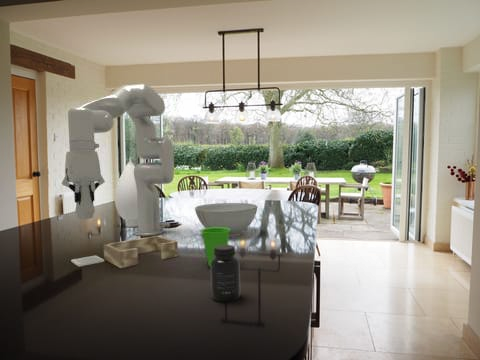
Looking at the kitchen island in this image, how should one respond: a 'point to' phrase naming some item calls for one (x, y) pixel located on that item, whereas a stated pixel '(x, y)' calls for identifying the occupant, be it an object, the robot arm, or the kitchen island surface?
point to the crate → (138, 250)
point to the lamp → (127, 196)
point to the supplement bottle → (225, 274)
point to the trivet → (87, 260)
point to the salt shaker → (85, 202)
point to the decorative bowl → (227, 216)
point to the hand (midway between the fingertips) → (84, 203)
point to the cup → (214, 240)
